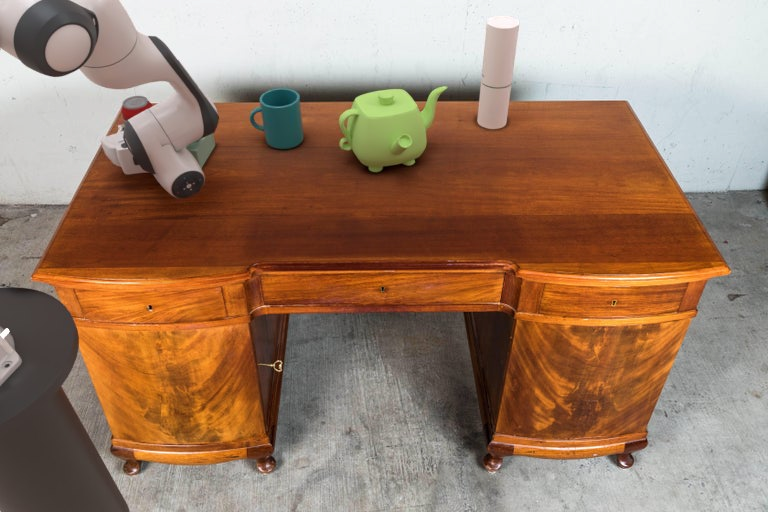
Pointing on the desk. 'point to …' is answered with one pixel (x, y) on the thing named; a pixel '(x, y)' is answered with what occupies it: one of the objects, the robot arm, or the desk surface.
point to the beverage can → (134, 106)
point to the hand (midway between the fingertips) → (139, 121)
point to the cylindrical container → (497, 71)
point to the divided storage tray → (202, 149)
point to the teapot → (387, 127)
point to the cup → (280, 118)
